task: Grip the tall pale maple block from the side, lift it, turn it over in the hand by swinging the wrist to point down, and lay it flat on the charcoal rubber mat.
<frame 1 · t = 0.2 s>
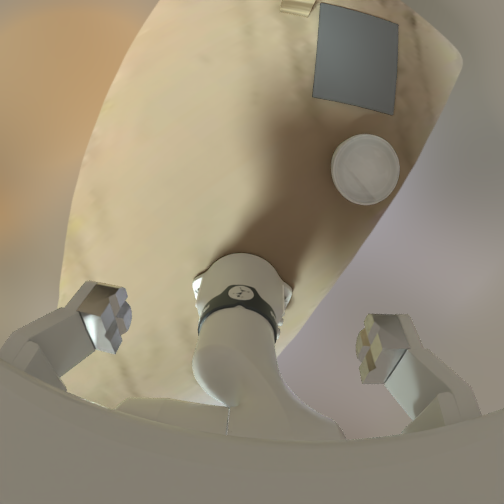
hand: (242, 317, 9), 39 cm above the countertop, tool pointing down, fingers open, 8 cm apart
rubber mat: (358, 56, 36), on the countertop
ramekin: (356, 165, 44), on the countertop
maple block: (295, 4, 32), on the countertop
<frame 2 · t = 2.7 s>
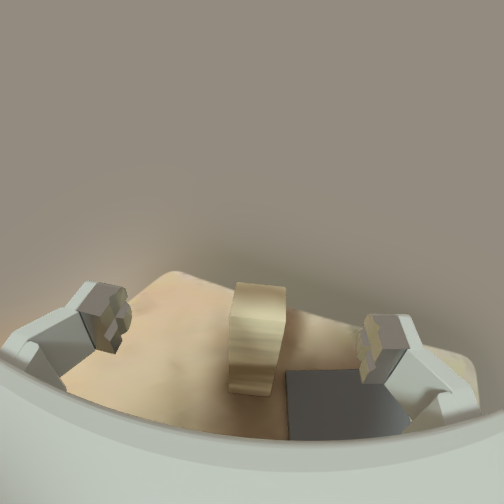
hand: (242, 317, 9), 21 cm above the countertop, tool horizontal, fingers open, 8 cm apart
rubber mat: (354, 436, 24), on the countertop
maple block: (251, 378, 30), on the countertop
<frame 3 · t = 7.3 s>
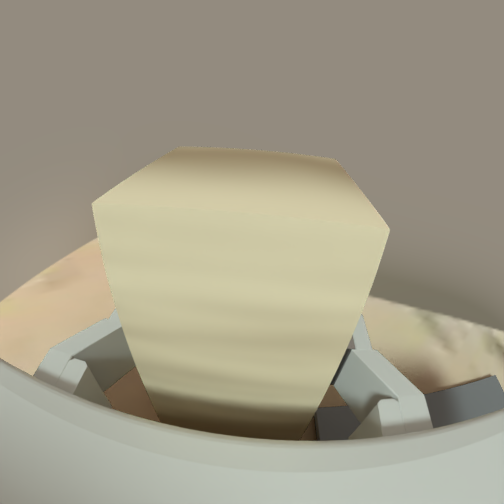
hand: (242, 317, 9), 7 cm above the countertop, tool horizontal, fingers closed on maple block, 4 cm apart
maple block: (235, 428, 12), on the countertop, touching gripper
when the fingers open (3 cm above the countertop, at t = 15.9 s): maple block drops 1 cm, resting on rubber mat.
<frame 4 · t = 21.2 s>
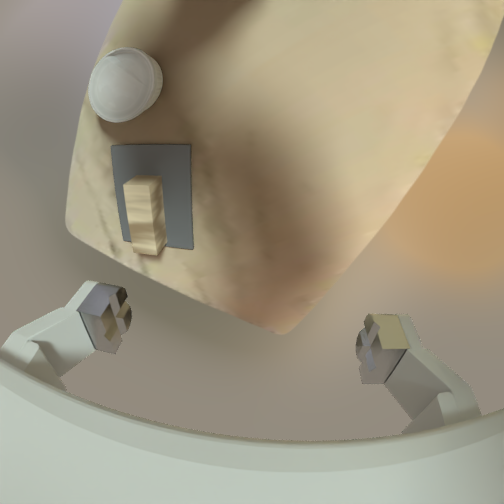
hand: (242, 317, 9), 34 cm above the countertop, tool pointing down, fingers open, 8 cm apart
rubber mat: (152, 197, 45), on the countertop
ramekin: (137, 83, 35), on the countertop
maple block: (150, 246, 47), point 3 cm above the countertop, tilted 90°, touching rubber mat
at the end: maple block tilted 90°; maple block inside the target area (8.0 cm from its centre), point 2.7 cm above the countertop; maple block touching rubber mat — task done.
